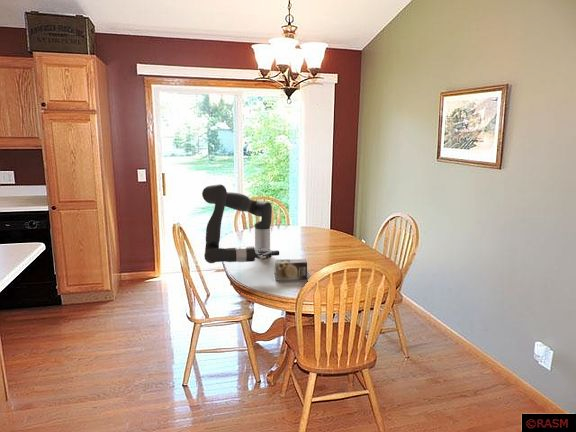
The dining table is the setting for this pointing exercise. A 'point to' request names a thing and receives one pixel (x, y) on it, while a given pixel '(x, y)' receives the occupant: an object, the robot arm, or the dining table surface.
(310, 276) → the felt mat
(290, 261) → the coffee box
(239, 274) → the dining table surface
